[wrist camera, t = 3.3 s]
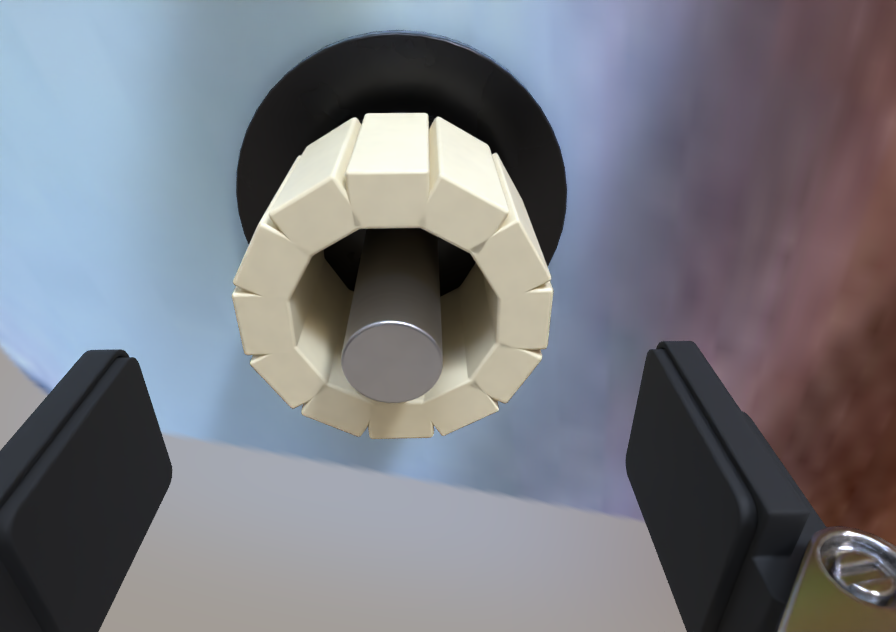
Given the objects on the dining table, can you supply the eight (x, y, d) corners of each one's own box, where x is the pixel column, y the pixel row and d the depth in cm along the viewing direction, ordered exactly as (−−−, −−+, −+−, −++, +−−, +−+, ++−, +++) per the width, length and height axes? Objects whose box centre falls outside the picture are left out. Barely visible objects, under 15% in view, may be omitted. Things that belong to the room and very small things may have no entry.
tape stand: (209, 30, 16) (41, 102, 9) (581, 28, 16) (701, 97, 9) (268, 339, 21) (190, 539, 14) (549, 335, 22) (609, 527, 15)
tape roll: (259, 113, 15) (203, 172, 11) (531, 111, 15) (567, 169, 11) (295, 340, 19) (262, 443, 15) (515, 335, 19) (539, 436, 15)
